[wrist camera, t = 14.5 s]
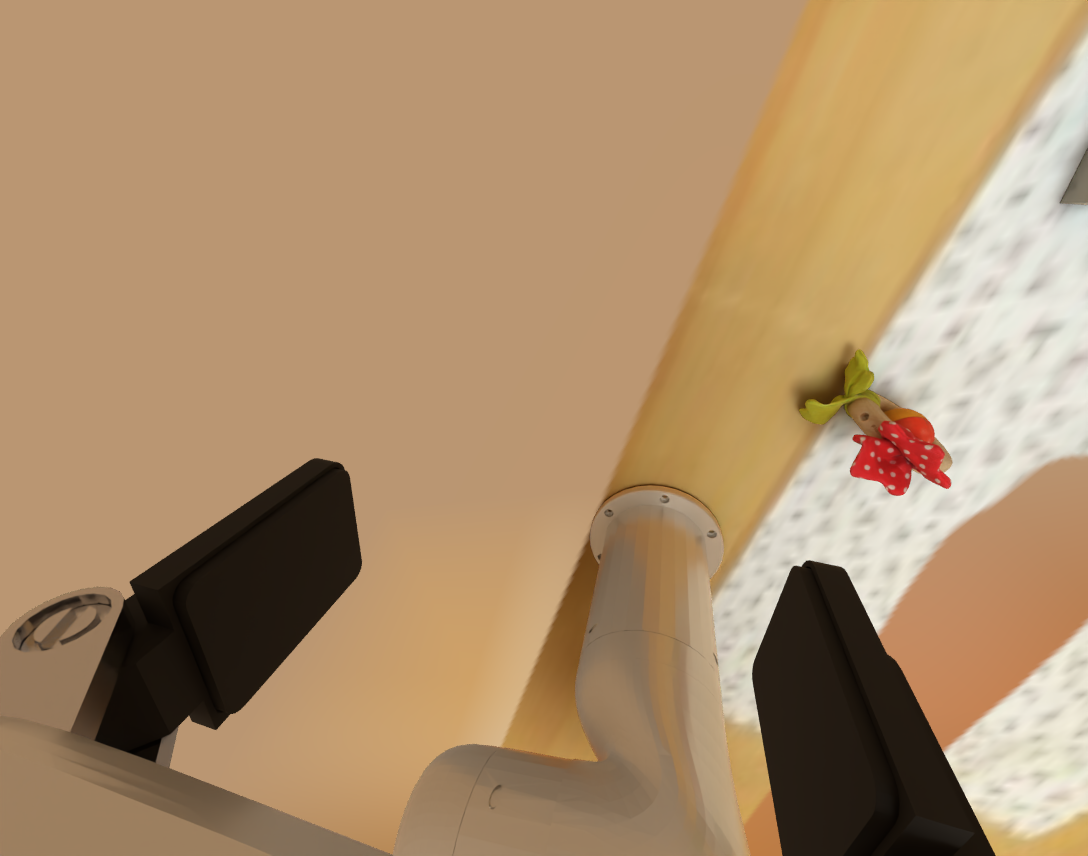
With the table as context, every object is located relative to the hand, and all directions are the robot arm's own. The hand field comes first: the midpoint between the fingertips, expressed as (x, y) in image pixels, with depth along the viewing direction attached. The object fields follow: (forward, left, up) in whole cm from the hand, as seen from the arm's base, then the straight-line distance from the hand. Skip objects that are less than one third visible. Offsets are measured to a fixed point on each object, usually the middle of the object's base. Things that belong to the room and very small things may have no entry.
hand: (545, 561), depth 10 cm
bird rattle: (-5, -18, -31) cm, 36 cm away
